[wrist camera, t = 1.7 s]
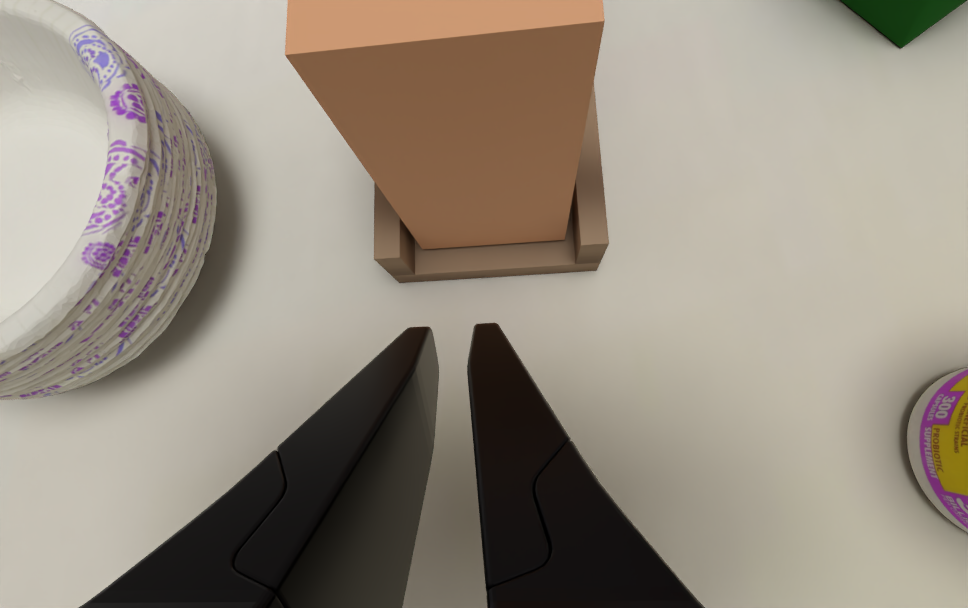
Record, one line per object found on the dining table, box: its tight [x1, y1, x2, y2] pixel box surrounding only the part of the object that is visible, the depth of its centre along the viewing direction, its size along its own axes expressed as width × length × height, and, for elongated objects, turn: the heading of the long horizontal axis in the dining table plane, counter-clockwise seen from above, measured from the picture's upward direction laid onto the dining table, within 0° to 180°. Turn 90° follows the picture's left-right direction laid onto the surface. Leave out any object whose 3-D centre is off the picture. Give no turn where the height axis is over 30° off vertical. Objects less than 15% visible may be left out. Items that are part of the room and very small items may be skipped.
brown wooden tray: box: [374, 81, 609, 283], centre depth 22 cm, size 18×9×4 cm, turn 2°
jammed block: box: [285, 0, 604, 249], centre depth 16 cm, size 6×6×12 cm
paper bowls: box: [0, 0, 217, 400], centre depth 21 cm, size 15×15×8 cm
